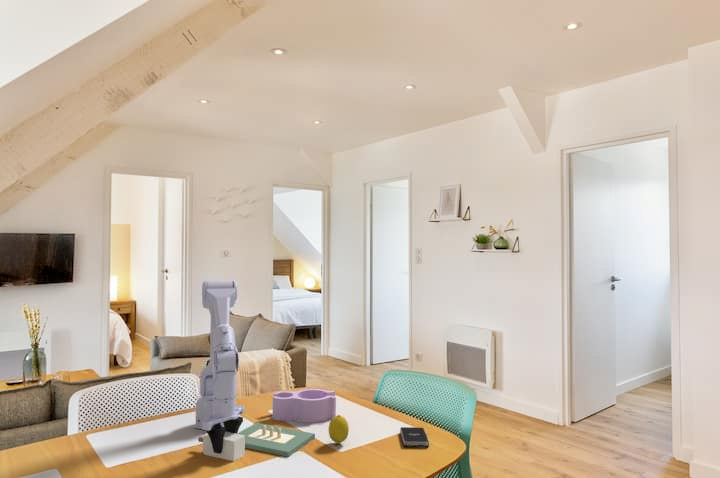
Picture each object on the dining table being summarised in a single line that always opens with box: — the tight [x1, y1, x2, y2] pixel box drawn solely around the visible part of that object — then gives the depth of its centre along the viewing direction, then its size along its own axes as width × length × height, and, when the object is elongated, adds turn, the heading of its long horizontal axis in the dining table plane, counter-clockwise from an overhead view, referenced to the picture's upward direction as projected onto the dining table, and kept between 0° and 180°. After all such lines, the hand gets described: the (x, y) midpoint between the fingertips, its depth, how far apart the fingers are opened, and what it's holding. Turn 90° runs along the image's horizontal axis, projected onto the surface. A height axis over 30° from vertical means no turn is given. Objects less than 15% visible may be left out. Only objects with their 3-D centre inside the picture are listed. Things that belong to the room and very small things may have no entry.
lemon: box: [328, 414, 350, 445], centre depth 136 cm, size 6×6×8 cm
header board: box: [237, 422, 316, 458], centre depth 138 cm, size 20×14×4 cm
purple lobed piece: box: [272, 388, 337, 423], centre depth 159 cm, size 20×12×7 cm, turn 96°
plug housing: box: [197, 432, 246, 462], centre depth 129 cm, size 13×4×5 cm, turn 66°
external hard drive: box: [399, 426, 430, 449], centre depth 140 cm, size 7×11×2 cm, turn 1°
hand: (223, 449), depth 128 cm, fingers closed on plug housing, 4 cm apart
